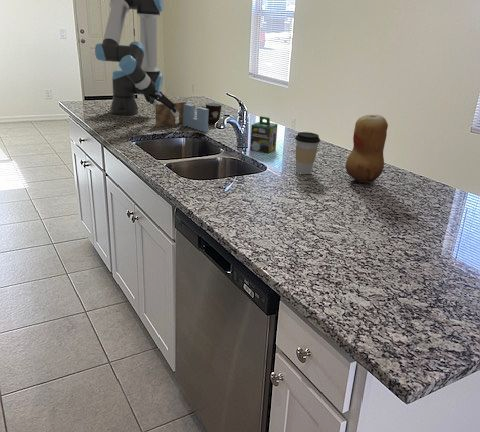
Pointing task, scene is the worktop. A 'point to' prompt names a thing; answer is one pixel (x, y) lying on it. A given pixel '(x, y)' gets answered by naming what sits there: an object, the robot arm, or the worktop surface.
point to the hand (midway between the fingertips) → (169, 113)
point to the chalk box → (263, 136)
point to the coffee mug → (213, 112)
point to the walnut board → (168, 114)
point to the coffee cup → (306, 151)
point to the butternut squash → (367, 148)
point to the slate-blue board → (192, 122)
